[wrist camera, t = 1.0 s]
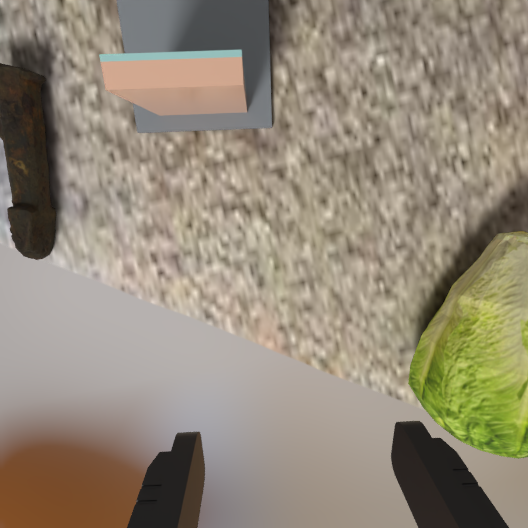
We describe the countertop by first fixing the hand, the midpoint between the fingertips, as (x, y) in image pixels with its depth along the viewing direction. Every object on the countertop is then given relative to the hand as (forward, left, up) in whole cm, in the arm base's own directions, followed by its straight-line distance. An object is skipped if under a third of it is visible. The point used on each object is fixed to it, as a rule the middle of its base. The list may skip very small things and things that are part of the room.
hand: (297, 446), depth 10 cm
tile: (+6, -15, -27) cm, 31 cm away
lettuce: (-26, +11, -28) cm, 40 cm away
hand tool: (+24, -9, -28) cm, 38 cm away
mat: (+6, -21, -28) cm, 35 cm away
